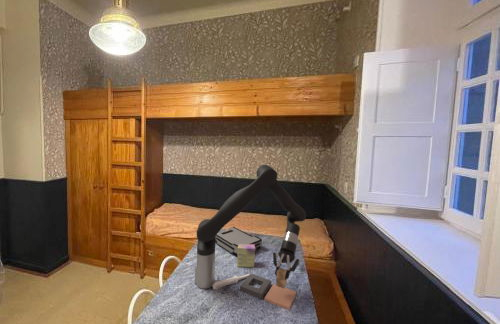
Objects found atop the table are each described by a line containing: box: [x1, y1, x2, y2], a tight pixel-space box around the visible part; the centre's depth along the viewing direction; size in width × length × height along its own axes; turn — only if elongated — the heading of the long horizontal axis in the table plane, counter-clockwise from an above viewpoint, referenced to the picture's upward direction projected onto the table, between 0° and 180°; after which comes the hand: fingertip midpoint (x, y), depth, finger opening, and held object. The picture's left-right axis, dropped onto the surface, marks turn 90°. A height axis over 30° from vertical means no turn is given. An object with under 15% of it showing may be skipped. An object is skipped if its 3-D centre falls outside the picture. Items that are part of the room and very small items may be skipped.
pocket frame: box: [239, 273, 272, 300], centre depth 108 cm, size 12×12×2 cm
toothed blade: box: [212, 273, 252, 290], centre depth 111 cm, size 3×4×22 cm
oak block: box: [275, 267, 288, 288], centre depth 101 cm, size 4×4×7 cm
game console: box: [215, 226, 263, 258], centre depth 152 cm, size 21×32×8 cm, turn 42°
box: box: [236, 244, 256, 268], centre depth 128 cm, size 10×6×12 cm, turn 92°
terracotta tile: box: [263, 283, 297, 311], centre depth 102 cm, size 12×12×1 cm
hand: (281, 277), depth 100 cm, fingers closed on oak block, 4 cm apart
